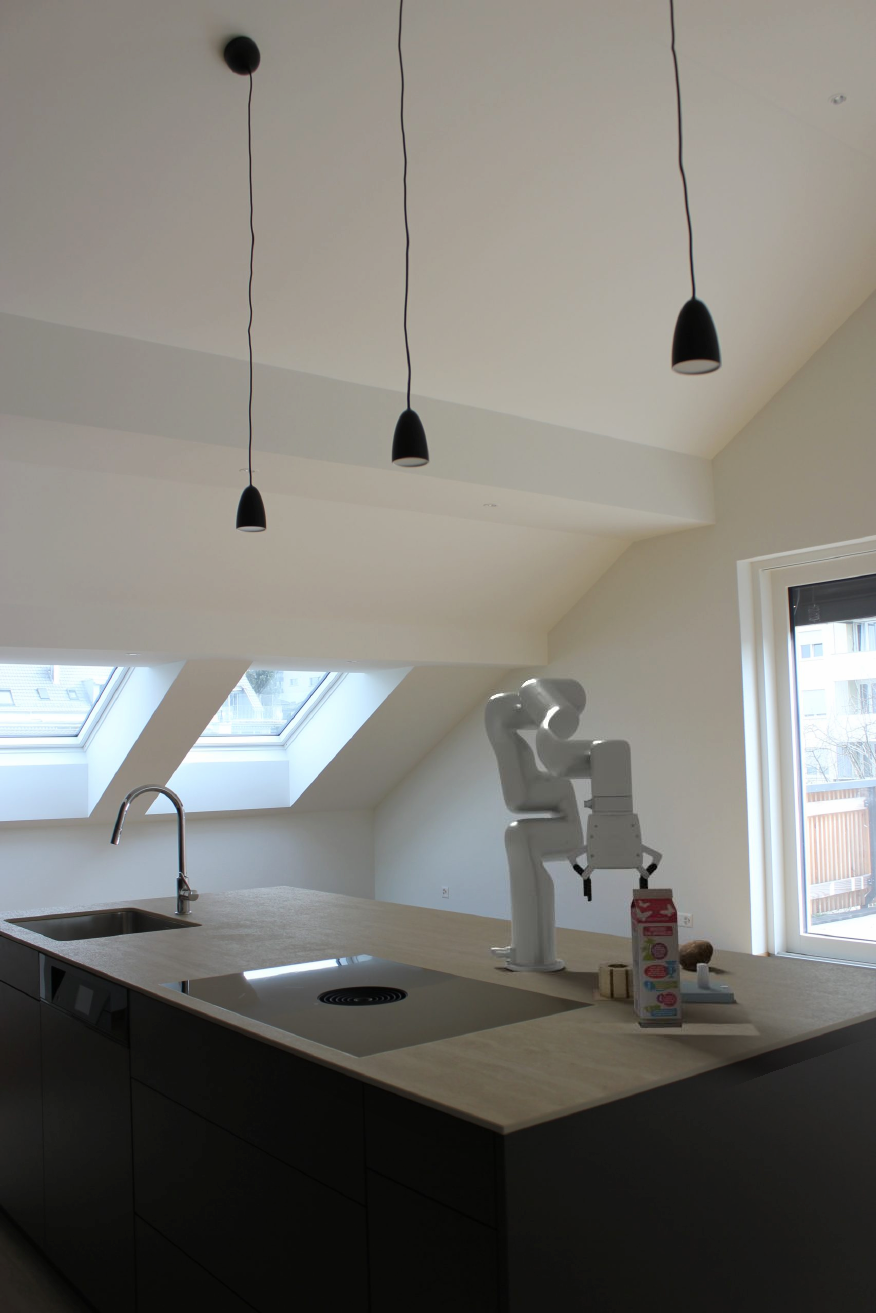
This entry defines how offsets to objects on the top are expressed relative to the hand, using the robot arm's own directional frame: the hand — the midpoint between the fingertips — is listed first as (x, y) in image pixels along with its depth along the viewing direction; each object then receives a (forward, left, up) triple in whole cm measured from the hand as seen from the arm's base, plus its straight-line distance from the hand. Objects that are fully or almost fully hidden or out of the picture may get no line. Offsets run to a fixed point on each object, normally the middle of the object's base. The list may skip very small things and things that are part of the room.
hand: (616, 900), depth 186 cm
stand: (0, 0, -18) cm, 18 cm away
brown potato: (+18, +32, -19) cm, 41 cm away
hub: (+15, -1, -18) cm, 24 cm away
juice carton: (+5, -14, -19) cm, 24 cm away
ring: (0, 0, -17) cm, 17 cm away
